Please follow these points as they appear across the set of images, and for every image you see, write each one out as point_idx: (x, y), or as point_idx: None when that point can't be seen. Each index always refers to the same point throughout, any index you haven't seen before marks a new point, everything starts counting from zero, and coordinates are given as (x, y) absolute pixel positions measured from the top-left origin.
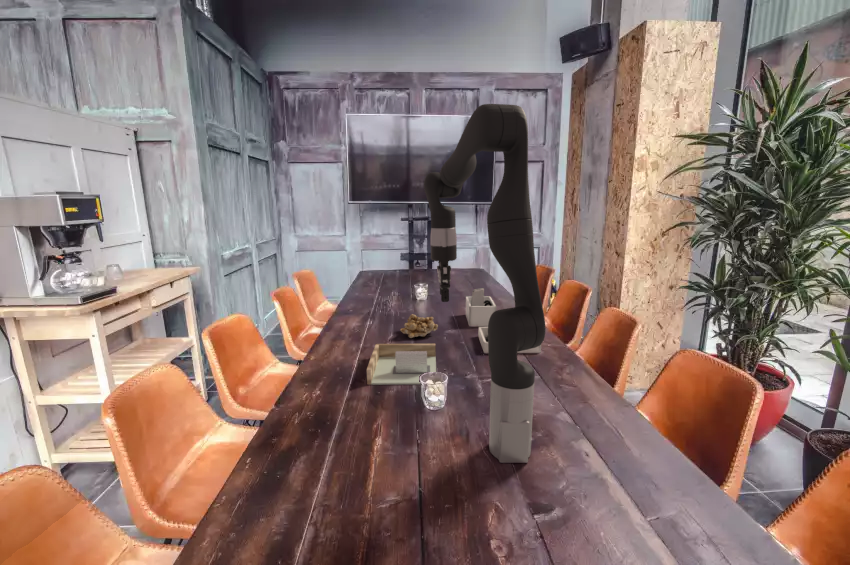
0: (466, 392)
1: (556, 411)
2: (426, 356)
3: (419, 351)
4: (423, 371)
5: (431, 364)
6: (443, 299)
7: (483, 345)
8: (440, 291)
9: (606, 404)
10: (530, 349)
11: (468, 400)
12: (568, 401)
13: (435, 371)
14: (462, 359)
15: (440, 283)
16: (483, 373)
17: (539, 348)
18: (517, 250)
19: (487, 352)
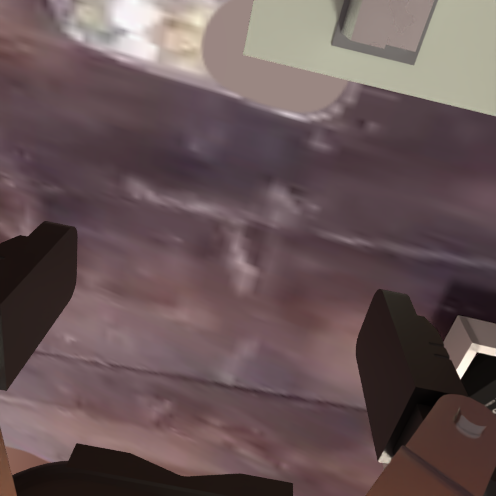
0: (162, 149)
1: None
2: (349, 36)
3: (396, 2)
4: (346, 14)
5: (427, 76)
6: (10, 245)
7: (486, 334)
8: (385, 313)
9: (67, 432)
10: None
11: (106, 138)
12: (84, 377)
13: (348, 76)
14: (437, 223)
15: (409, 392)
16: (290, 252)
17: (385, 465)
18: None
19: (452, 326)
